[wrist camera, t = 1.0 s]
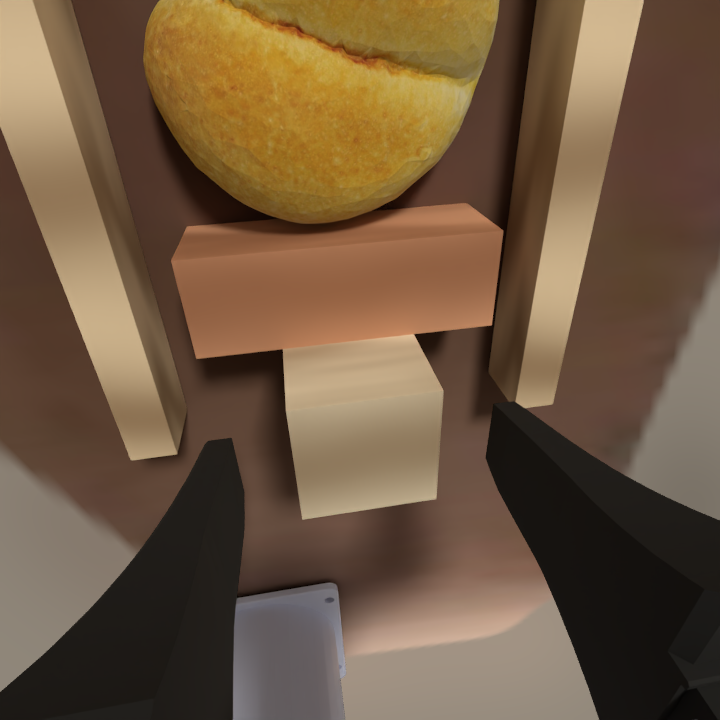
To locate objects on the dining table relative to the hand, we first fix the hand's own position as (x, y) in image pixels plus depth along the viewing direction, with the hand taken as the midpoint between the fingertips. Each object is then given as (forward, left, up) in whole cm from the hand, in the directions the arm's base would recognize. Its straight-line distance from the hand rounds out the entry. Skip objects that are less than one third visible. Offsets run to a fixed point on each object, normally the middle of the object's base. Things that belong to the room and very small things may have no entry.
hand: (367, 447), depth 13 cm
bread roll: (+10, 0, -6) cm, 11 cm away
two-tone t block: (+1, 0, -6) cm, 6 cm away
